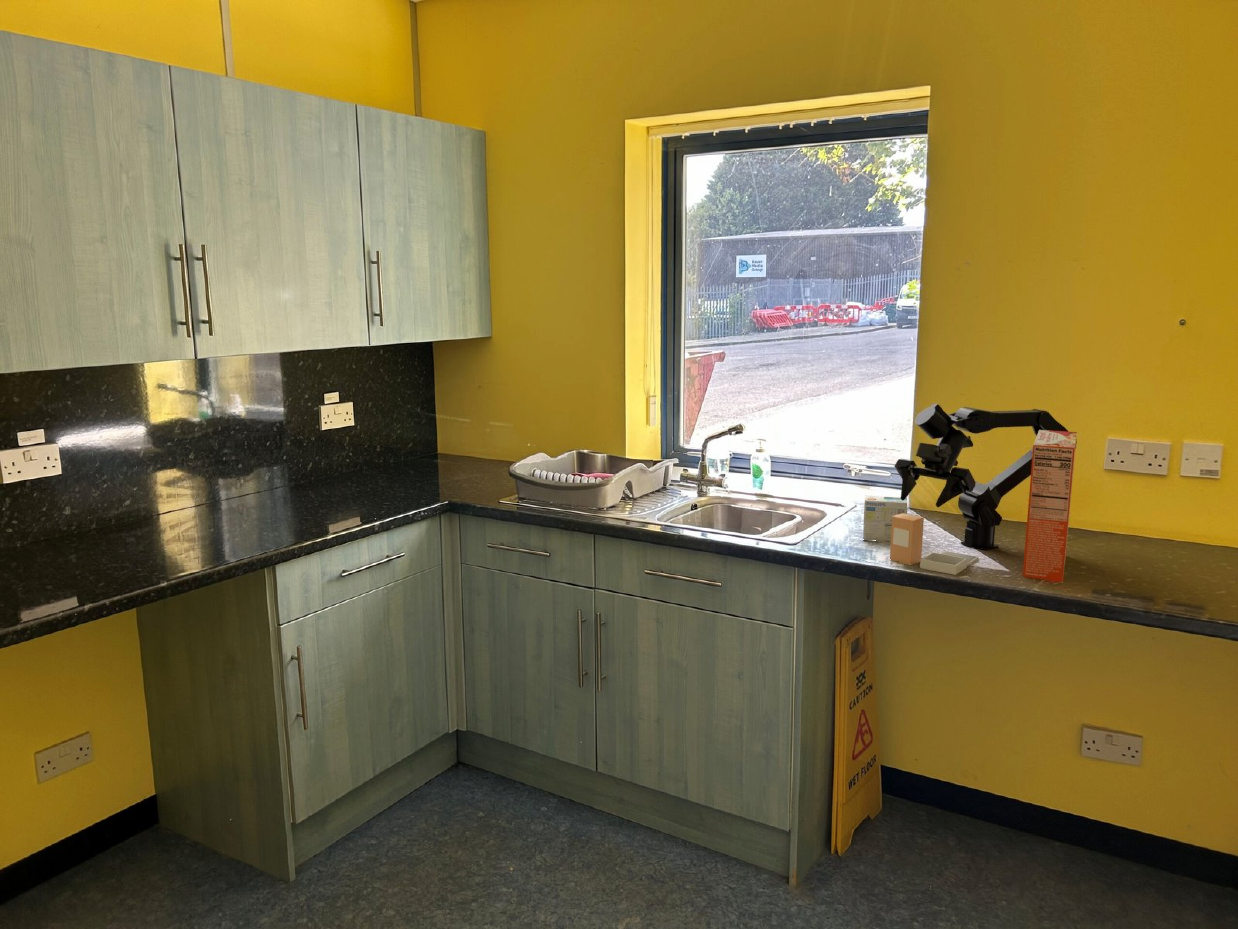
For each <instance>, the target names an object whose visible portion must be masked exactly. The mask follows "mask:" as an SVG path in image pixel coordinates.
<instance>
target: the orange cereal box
mask: <svg viewBox="0 0 1238 929" xmlns="http://www.w3.org/2000/svg"><path fill="white" fill-rule="evenodd" d="M1077 435H1078V432H1076V431H1069V432H1065V431H1048V430H1039V432H1038V434H1037V436H1036V437H1035V439H1034V442H1033V445H1032V448H1033V456H1032V468H1031V475H1030V482H1029V483H1030V484H1029V493H1028V507H1027V519H1026V529H1025V530H1026V531H1025V542H1024V543H1025V544H1024V554H1023V555H1024V556H1023V568H1022V577H1024V578H1033V579H1041V580H1046V581H1045V582H1049V581H1050V582H1051V581H1053V582H1052V583H1057V582H1063V583H1064V575H1065V566H1066V556H1067V554H1066V553H1067V544H1068V533H1069V522H1070V514H1071V512H1070V511H1071V502H1072V501H1071V500H1072V491H1073V490H1072V489H1073V480H1074V479H1073V477H1074V470H1075V469H1074V467H1075V456H1076V449H1075V447H1076V448H1077V444H1076V439H1077Z"/></svg>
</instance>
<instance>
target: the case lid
mask: <svg viewBox="0 0 1238 929" xmlns="http://www.w3.org/2000/svg"><path fill="white" fill-rule="evenodd" d="M939 554H945V555H951V556H956V557H962V558H967V567H970V566H971V565H973V564H974V563H975V562H977V561H978V560H979V559H980V558H979V556H976V555H971V554H966V553H965V554H964V553H959V552H954V551H947V550H943V551H942V552H940V553H939Z"/></svg>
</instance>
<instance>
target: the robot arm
mask: <svg viewBox="0 0 1238 929" xmlns="http://www.w3.org/2000/svg"><path fill="white" fill-rule="evenodd" d="M914 423H915V425H916V426H917V427H918V428H919V429H921V430H922V431H923V432H924V433H925V434H926V435H927V437H929V438H930V439H931V440H936V439H938V441H937V443H936V444H934V443H933V444H932V443H925V442H919V443H918V446H917V449H916V454H915V457H919V459H921V460H920V462H921V464H922V465H923V466H918V465H917V464H916V462H915V460H913V459H909V458H907V459H906V458H900V459H898V460H896V462H895V464H894V468H895V470H896V471H897V473H898V475H899V476H900V478H901V479H902V480H901V492H900V497H901V500H903V501H904V500H905V499H906V498H907V499H908V496H909V495H910V494H911V492H913V490H914V488H915V487H916V486H917V481H918V480H919V479H920V477H922V476H923V477H927V478H932V479H937V480H942V481H946V482H945V484H944V487H943V489H942V491H941V493H940V494H939V496H938V497H937V500H936V501H935V507H936V508H940V507H941V506H943V505H945V504H946V503H947V502H949V501H951V500H952V499H954V498H956V497H958V501H957V507H958V509H959V511H960V512H961V514H962V518H963V519H966V520H967V521H966V527H965V528H964V540H963V541H960V544H961V545H964V546H966V547H969V548H972V549H975V550H980V551H981V550H988V549H996V548H997V549H998V548H999V544H996V543H995V535H996V526H1000V525H1001V523H1002V520H1003V517H1002V516H1001V514H1000V513H999V512H998V511H997V509H998V507H999V504H1000V502H1001V500H1002V498H1003V497H1004V496H1006V495H1007V494H1008V493H1009V492H1010V491H1013V489H1015V488H1016V487H1017V486H1019V485H1020V484H1021V483H1023V482H1024V481H1026V479H1028V478H1029V477H1031V468H1032V456H1033V447H1032V448H1031V449H1030V450H1029V451H1027V452H1026V453H1025V454H1024V455H1022V456H1021V457H1019V458H1018V459H1017V460H1016V461H1015V462H1013V463H1012V464H1010V465H1009V466H1008V467H1007V468H1005V469H1004V470H1002V471H1001V472H1000V473H999V474H998V475H996V476H995V477H994V478H992V479H991V480H990V481H988V482H987V483H980V482H978V481H976V480H975V478H974V476H973V474H972V472H971V470H970V469H969V468H965V467H959V466H958V464H959V462H958V458H959V456H960V454H961V452H962V450H963V449H965V448H966V449H967V448H973V447H974V442H973V441H972V439H971V438H972V437H971V436H970V435H966V434H965V433H964V432H968V433H971V434H976V435H977V434H982V433H985V432H990V431H992V430H993V429H994V430H995V429H999V428H1022V427H1023V428H1024V427H1026V428H1027V427H1028V428H1029V427H1031V428H1032V431H1033V433H1034V435H1035V436H1036V437H1037V434H1038V432H1039V430H1048V431H1065V432H1070V431H1069V430H1068V429H1067V427H1065V426H1064V425H1063V424H1061V423H1060V422H1059V421H1058V420H1056V419H1055V418H1054V417H1053V416H1052V414H1051V413H1050V412H1049V411H1047V410H1044V409H1043V410H1042V409H1038V408H1032V409H1021V410H1020V409H1017V410H993V411H992V410H985V409H979V408H975V407H968V406H962V407H960V408H958V410H957V411H956V412H952V413H948V414H947V413H946V411H944V409H943V407H941V405H940V404H938V403H932V404H931V405H930V406H928V407H926V408H924V409H923V410H922V411H919V412H918V413H917V415H916V417H915V419H914ZM955 427H956V428H955ZM1077 442H1078V441H1077V438H1076V445H1077V444H1078V443H1077ZM1076 449H1077V446H1076V447H1075V450H1076Z"/></svg>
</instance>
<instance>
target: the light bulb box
mask: <svg viewBox="0 0 1238 929" xmlns="http://www.w3.org/2000/svg"><path fill="white" fill-rule="evenodd" d="M863 503H864V506H863V530H862V531H863V532H862V533H863V535H862V540H863V539H864V540H876V541H883V542H891V528H892V516H895V515H898V514H902V513H905V514H908V497H907V498H906V499H905V500H904V501H903V500H901V496H887V495H886V496H883V495H881V496H880V495H865V496H864V502H863Z"/></svg>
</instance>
